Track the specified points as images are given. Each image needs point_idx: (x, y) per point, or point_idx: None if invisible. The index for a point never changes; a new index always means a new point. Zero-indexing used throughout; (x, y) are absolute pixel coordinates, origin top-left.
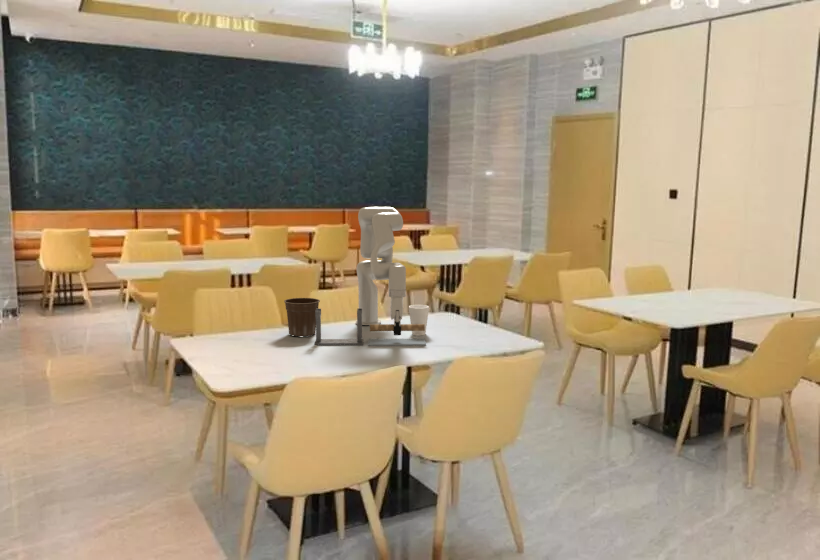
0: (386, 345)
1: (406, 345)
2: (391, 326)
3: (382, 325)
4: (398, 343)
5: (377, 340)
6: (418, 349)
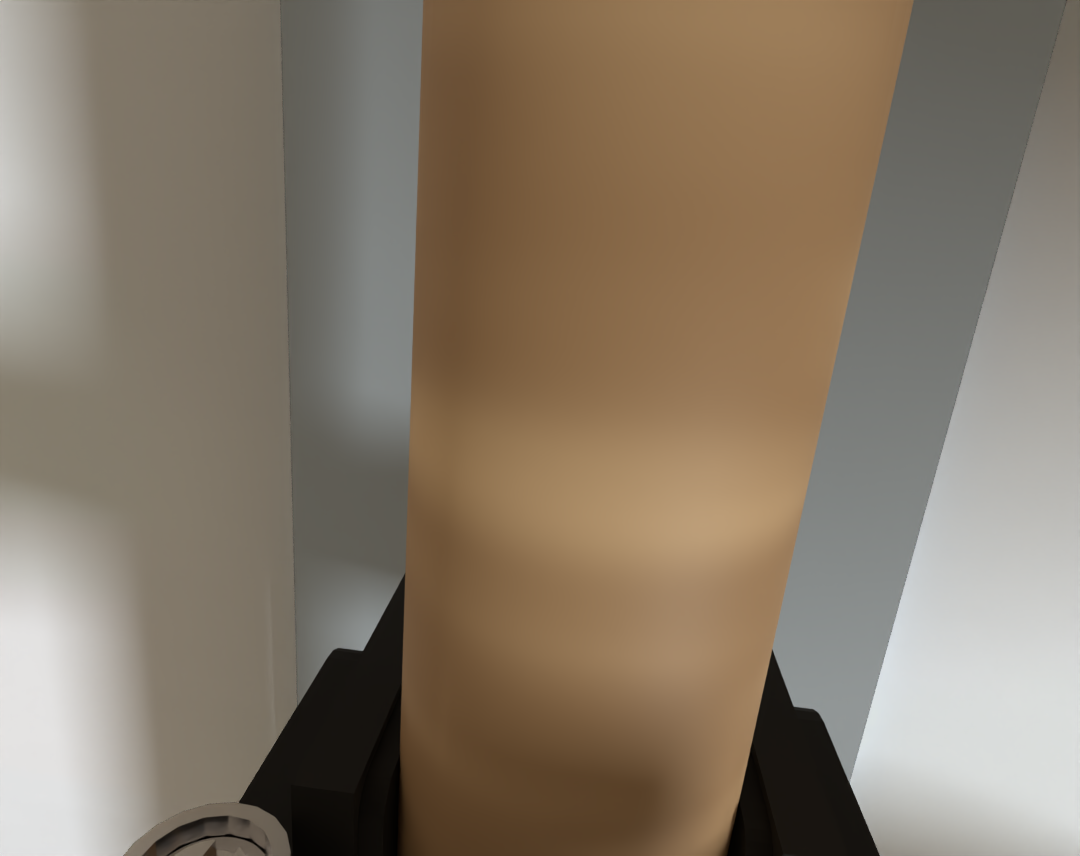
0: (299, 253)
1: (305, 680)
2: (410, 676)
3: (489, 110)
4: (393, 554)
5: None
6: (46, 810)
